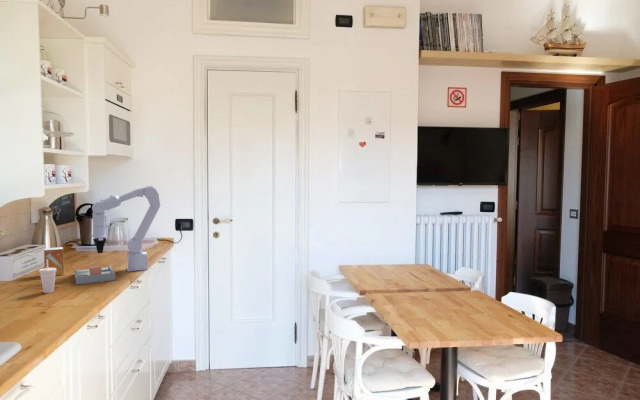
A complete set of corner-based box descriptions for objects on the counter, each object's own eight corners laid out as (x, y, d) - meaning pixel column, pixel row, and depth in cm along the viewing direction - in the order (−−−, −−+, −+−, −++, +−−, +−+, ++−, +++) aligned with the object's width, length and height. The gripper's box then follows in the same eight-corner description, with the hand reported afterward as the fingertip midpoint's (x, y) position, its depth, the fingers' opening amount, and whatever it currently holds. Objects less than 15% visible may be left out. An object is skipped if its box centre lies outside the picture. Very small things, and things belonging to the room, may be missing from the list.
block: (100, 274, 208) (100, 265, 208) (101, 276, 204) (101, 267, 204) (89, 276, 206) (89, 266, 206) (90, 278, 202) (90, 268, 202)
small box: (44, 277, 212) (43, 250, 211) (44, 274, 217) (43, 248, 216) (64, 274, 216) (63, 248, 215) (63, 272, 221) (62, 246, 220)
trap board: (110, 270, 225) (110, 264, 225) (115, 280, 206) (115, 273, 206) (74, 274, 217) (74, 267, 216) (76, 284, 198) (76, 277, 197)
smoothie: (38, 294, 182) (37, 261, 181) (40, 290, 188) (39, 258, 187) (57, 292, 185) (55, 259, 184) (57, 289, 191) (56, 257, 190)
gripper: (89, 224, 224) (90, 251, 225) (91, 228, 212) (92, 256, 213) (104, 223, 228) (105, 249, 229) (107, 227, 215) (108, 254, 216)
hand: (100, 252), depth 221 cm, fingers closed
